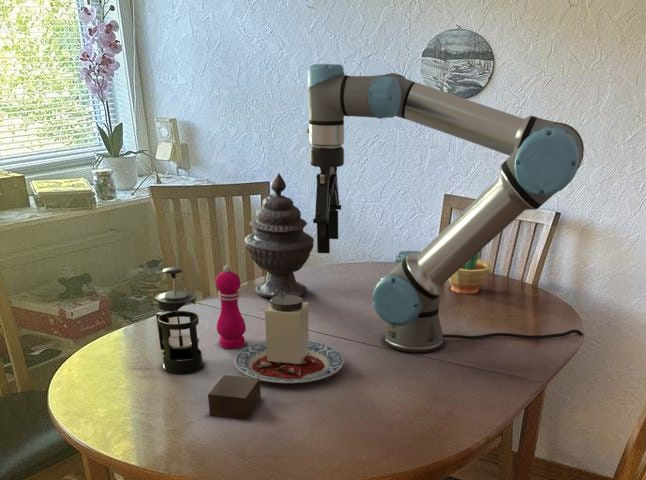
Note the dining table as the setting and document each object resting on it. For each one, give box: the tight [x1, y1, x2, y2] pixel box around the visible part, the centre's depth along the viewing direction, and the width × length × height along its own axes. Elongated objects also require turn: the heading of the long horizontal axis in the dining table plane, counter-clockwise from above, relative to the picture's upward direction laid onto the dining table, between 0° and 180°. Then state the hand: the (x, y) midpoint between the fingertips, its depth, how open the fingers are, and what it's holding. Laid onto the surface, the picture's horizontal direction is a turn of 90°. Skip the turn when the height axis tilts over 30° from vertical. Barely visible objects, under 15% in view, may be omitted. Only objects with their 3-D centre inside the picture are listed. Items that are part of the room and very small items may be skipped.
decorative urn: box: [244, 172, 315, 300], centre depth 206 cm, size 20×20×35 cm
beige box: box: [264, 295, 310, 364], centre depth 162 cm, size 15×8×15 cm
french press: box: [154, 267, 205, 375], centre depth 160 cm, size 12×9×23 cm
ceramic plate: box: [234, 340, 345, 384], centre depth 167 cm, size 26×26×3 cm
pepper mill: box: [214, 264, 247, 350], centre depth 174 cm, size 7×7×20 cm
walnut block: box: [207, 374, 262, 421], centre depth 148 cm, size 8×10×5 cm
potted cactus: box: [447, 249, 493, 295], centre depth 218 cm, size 15×15×25 cm
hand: (328, 245), depth 165 cm, fingers open, 13 cm apart
